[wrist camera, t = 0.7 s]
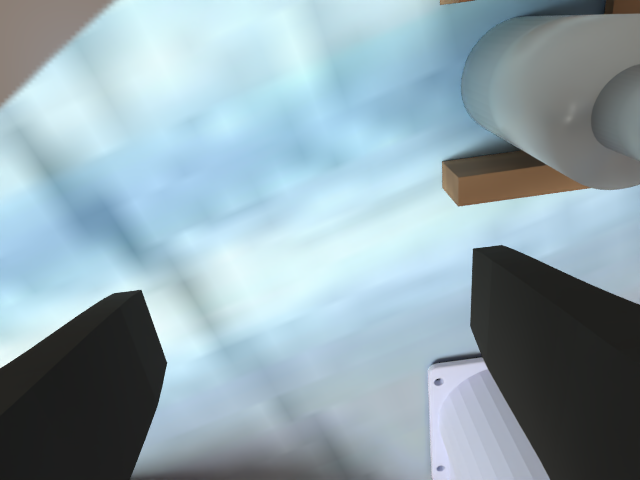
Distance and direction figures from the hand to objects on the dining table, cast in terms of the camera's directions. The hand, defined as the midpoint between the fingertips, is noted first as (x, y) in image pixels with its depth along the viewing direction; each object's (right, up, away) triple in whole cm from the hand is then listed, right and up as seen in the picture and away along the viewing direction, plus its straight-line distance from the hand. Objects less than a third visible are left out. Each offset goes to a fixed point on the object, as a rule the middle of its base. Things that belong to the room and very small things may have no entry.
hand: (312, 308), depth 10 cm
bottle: (+8, +8, +8) cm, 14 cm away
